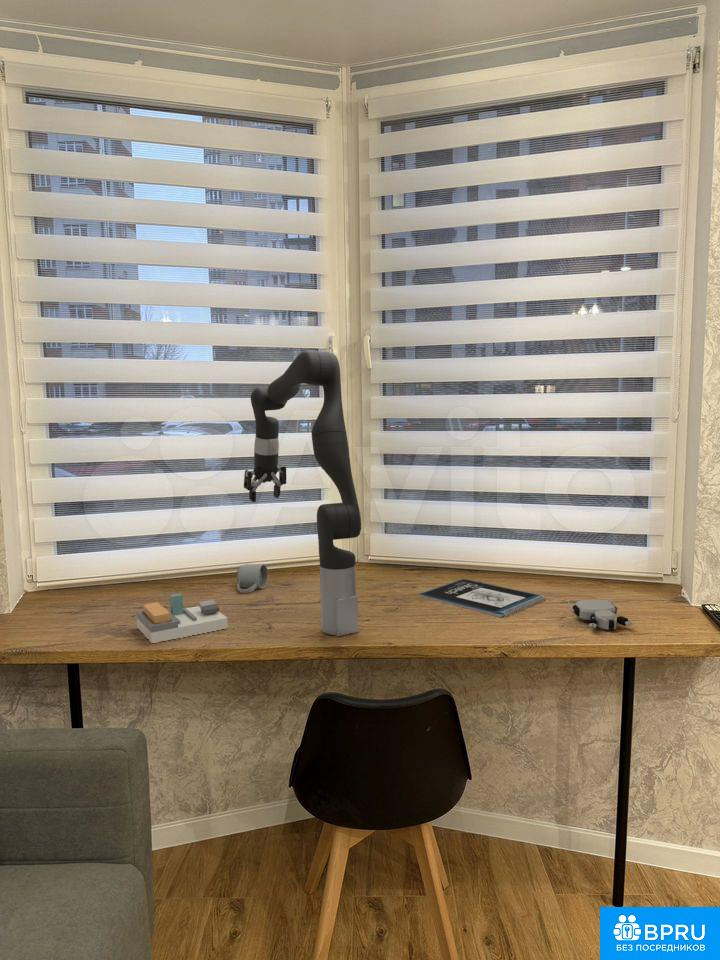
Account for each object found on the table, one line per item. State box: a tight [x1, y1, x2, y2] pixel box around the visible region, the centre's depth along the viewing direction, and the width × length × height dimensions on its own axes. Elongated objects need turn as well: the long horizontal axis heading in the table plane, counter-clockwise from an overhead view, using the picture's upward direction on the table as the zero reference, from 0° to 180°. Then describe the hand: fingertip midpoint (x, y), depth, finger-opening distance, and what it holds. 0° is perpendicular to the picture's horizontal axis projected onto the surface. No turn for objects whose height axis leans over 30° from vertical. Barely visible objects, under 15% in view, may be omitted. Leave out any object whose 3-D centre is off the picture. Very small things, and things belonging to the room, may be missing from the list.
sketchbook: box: [418, 578, 546, 618], centre depth 214 cm, size 22×30×2 cm
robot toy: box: [567, 598, 633, 630], centre depth 191 cm, size 12×4×15 cm
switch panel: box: [136, 605, 229, 644], centre depth 192 cm, size 14×20×5 cm
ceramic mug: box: [236, 563, 269, 594], centre depth 227 cm, size 11×8×8 cm
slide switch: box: [169, 593, 184, 615], centre depth 195 cm, size 2×3×5 cm
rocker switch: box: [198, 599, 220, 614], centre depth 196 cm, size 5×4×2 cm
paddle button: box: [142, 601, 171, 624], centre depth 189 cm, size 11×4×2 cm, turn 31°
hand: (264, 499), depth 233 cm, fingers open, 8 cm apart
